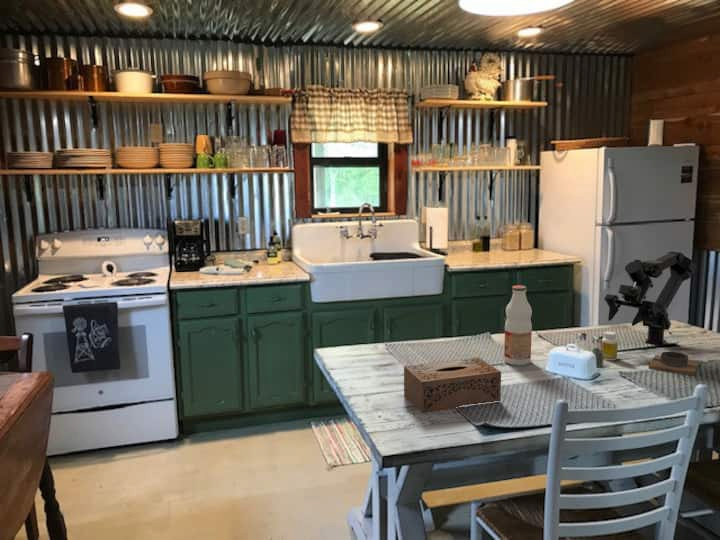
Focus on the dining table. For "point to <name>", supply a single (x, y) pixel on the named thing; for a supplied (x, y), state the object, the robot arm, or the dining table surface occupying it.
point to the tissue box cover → (451, 384)
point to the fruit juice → (518, 329)
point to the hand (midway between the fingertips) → (620, 322)
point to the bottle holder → (674, 363)
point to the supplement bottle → (609, 346)
